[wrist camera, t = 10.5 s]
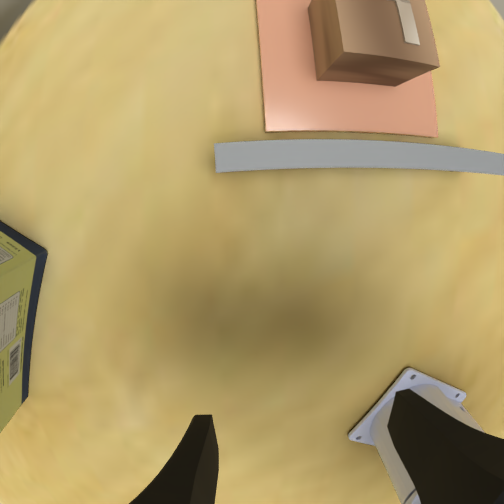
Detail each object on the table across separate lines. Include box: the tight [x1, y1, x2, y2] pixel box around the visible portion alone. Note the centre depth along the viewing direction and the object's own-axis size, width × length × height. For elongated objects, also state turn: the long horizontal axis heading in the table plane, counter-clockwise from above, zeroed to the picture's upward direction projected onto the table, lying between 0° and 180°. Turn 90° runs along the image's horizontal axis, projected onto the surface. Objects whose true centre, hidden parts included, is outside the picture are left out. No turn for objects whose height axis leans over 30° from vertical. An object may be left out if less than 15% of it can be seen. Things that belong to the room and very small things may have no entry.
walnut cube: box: [308, 0, 440, 87], centre depth 13 cm, size 5×5×5 cm
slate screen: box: [214, 139, 504, 175], centre depth 15 cm, size 16×1×5 cm, turn 93°
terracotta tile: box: [256, 0, 438, 138], centre depth 16 cm, size 11×11×1 cm
